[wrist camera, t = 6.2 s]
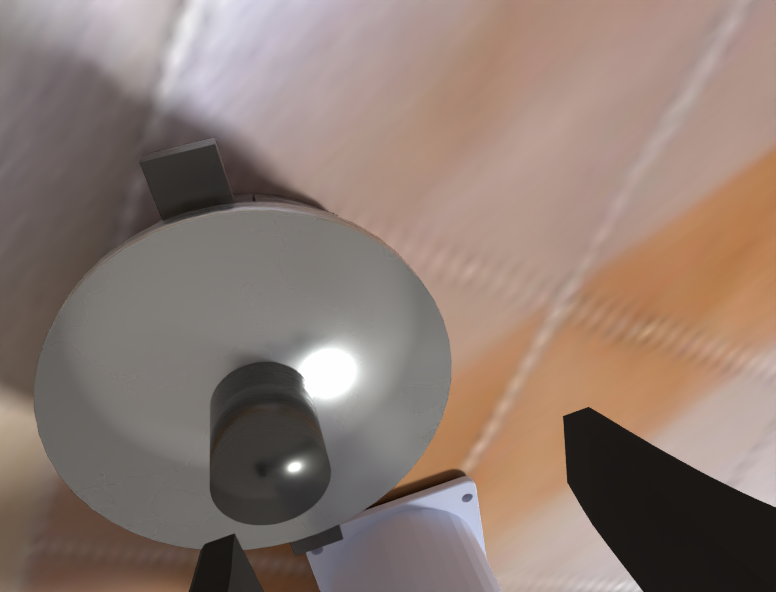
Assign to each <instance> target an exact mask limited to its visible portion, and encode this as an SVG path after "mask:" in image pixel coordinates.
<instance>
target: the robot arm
mask: <svg viewBox="0 0 776 592" xmlns="http://www.w3.org/2000/svg"><path fill="white" fill-rule="evenodd" d="M563 421H564V437H565V453H566V468H567V483H568V484H569V486H570V488H571V489H572V491H573V493H574V495H575V496H576V498H577V500H578V502H579V503H580V505H581V507H582V508H583V510H584V512H585V513H586V515H587V516H588V518H589V520H590V521H591V523H592V525H593V526H594V527H595V529H596V530H597V531H598V533H599V534H600V535H601V537H602V538H603V539H604V541H605V542H606V543H607V545H608V546H609V547H610V549H611V550H612V551H613V553H614V554H615V555H616V557H617V558H618V559H619V560H620V562H621V563H622V564H623V566H624V567H625V568H626V570H627V571H628V572H629V573H630V575H631V576H632V577H633V579H634V580H635V581H636V583H637V584H638V585H639V587H640V588H641V589H642V590H643V592H776V507H773V506H771V505H769V504H766V503H764V502H762V501H759V500H757V499H755V498H753V497H751V496H749V495H746V494H744V493H742V492H740V491H738V490H736V489H734V488H732V487H730V486H728V485H726V484H724V483H722V482H720V481H718V480H716V479H714V478H712V477H710V476H708V475H706V474H704V473H702V472H700V471H698V470H697V469H695V468H693V467H691V466H689V465H687V464H686V463H684V462H682V461H680V460H678V459H677V458H675V457H673V456H671V455H669V454H668V453H666V452H664V451H662V450H660V449H659V448H657V447H655V446H654V445H652V444H650V443H648V442H647V441H645V440H643V439H642V438H640V437H638V436H637V435H635V434H633V433H631V432H630V431H628V430H626V429H625V428H623V427H622V426H620V425H618V424H617V423H615V422H613V421H612V420H610V419H608V418H607V417H605V416H603V415H602V414H600V413H598V412H597V411H595V410H593V409H591V408H590V407H587V408H585V409H582V410H579V411H576V412H573V413H571V414H568V415H565V416H563ZM465 494H467V495H465ZM464 495H465V496H464ZM340 527H341V531H342V535H343V540H340V541H337V542H334V543H332V544H329V545H326V546H323V547H320V548H317V549H315V550H312V551H309V552H306V555H307V558H308V560H309V563H310V566H311V568H312V571H313V574H314V576H315V579H316V581H317V584H318V587H319V589H320V592H503V591H502V589H501V587H500V585H499V583H498V581H497V579H496V577H495V575H494V573H493V571H492V569H491V567H490V565H489V563H488V561H487V558H486V551H485V545H484V538H483V531H482V524H481V517H480V510H479V503H478V497H477V490H476V485H475V483H474V481H473V479H472V478H471V477H468V476H464V477H460V478H457V479H454V480H451V481H448V482H445V483H443V484H440V485H437V486H434V487H431V488H428V489H425V490H422V491H419V492H416V493H414V494H411V495H408V496H405V497H402V498H399V499H396V500H393V501H390V502H388V503H385V504H382V505H379V506H376V507H373V508H370V509H367V510H364V511H362V512H360V513H359V514H357V515H355V516H353V517H351V518H350V519H348V520H346V521H344V522H342V523H341V524H340ZM189 592H264V591H263V589H262V587H261V585H260V583H259V581H258V579H257V577H256V575H255V573H254V571H253V569H252V567H251V565H250V563H249V561H248V559H247V557H246V555H245V553H244V551H243V549H242V547H241V545H240V543H239V541H238V539H237V537H236V535H235V533H234V534H231V535H228V536H226V537H223V538H220V539H217V540H214V541H212V542H209V543H206V544H204V546H203V547H202V549H201V551H200V555H199V558H198V562H197V566H196V569H195V573H194V576H193V580H192V583H191V586H190V590H189Z"/></svg>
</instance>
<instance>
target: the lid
mask: <svg viewBox="0 0 776 592" xmlns="http://www.w3.org/2000/svg"><path fill="white" fill-rule="evenodd" d="M450 383H451V352H450V344H449V338H448V335H447V331H446V328H445V324H444V321H443V318H442V316H441V314H440V312H439V309H438V307H437V305H436V303H435V301H434V299H433V298H432V296H431V295H430V293H429V292H428V290H427V289H426V287H425V286H424V284H423V283H422V281H421V280H420V279H419V277H418V276H417V275H416V273H415V272H414V271H413V269H412V268H411V267H410V266H409V265H408V264H407V263H406V262H405V261H404V259H403V258H402V257H401V256H400V255H399V254H398V253H397V252H396V251H395V250H393V249H392V248H391V247H390V246H388V245H387V244H386V243H385V242H383V241H382V240H381V239H380V238H378V237H377V236H375V235H374V234H372V233H370V232H369V231H367V230H365V229H363V228H362V227H360V226H358V225H357V224H355V223H352V222H350V221H348V220H345V219H343V218H340V217H338V216H336V215H333V214H331V213H327V212H323V211H320V210H316V209H312V208H309V207H305V206H299V205H291V204H284V203H277V202H240V203H230V204H221V205H214V206H210V207H205V208H201V209H197V210H193V211H188V212H185V213H182V214H179V215H177V216H174V217H171V218H169V219H166V220H163V221H161V222H158V223H156V224H154V225H152V226H150V227H148V228H146V229H144V230H142V231H140V232H139V233H137V234H135V235H133V236H131V237H129V238H128V239H126V240H125V241H124V242H122V243H121V244H119V245H118V246H117V247H115V248H114V249H112V250H111V251H110V252H108V253H107V254H105V255H104V256H103V257H102V258H101V259H100V260H99V261H98V262H97V263H96V264H95V265H94V266H93V267H92V268H91V269H90V270H89V271H88V272H86V273H85V274H84V276H83V277H82V278H81V279H80V281H79V282H78V283H77V285H76V286H75V287H74V288H73V290H72V291H71V292H70V294H69V295H68V296H67V298H66V300H65V301H64V303H63V305H62V307H61V309H60V311H59V312H58V314H57V316H56V318H55V320H54V322H53V324H52V326H51V328H50V330H49V332H48V334H47V336H46V339H45V342H44V345H43V348H42V350H41V353H40V356H39V359H38V363H37V369H36V375H35V381H34V412H35V417H36V422H37V427H38V432H39V435H40V438H41V441H42V443H43V446H44V448H45V451H46V453H47V456H48V457H49V459H50V461H51V462H52V464H53V466H54V467H55V469H56V471H57V472H58V474H59V476H60V477H61V478H62V479H63V480H64V482H65V483H66V484H67V485H68V486H69V488H70V489H71V490H72V491H73V492H74V494H76V495H77V496H78V497H79V498H80V499H81V500H82V501H84V502H85V503H86V504H87V505H88V506H89V507H90V508H91V509H93V510H94V511H96V512H97V513H99V514H100V515H102V516H103V517H105V518H106V519H108V520H109V521H111V522H112V523H114V524H116V525H118V526H120V527H122V528H124V529H126V530H128V531H130V532H132V533H135V534H138V535H141V536H143V537H146V538H149V539H152V540H154V541H158V542H162V543H166V544H170V545H174V546H179V547H186V548H193V549H200V550H201V549H202V547H203V546H204V544H206V543H209V542H212V541H214V540H217V539H220V538H223V537H226V536H228V535H231V534H234V533H235V535H236V537H237V539H238V541H239V543H240V545H241V547H242V549H243V550H250V549H257V548H264V547H271V546H276V545H280V544H284V543H289V542H293V541H297V540H300V539H303V538H306V537H309V536H312V535H315V534H318V533H320V532H323V531H325V530H327V529H329V528H332V527H334V526H336V525H339V524H341V523H342V522H344V521H346V520H348V519H350V518H351V517H353V516H355V515H357V514H359V513H360V512H362V511H363V510H365V509H366V508H368V507H369V506H371V505H372V504H374V503H375V502H377V501H378V500H379V499H380V498H381V497H383V496H384V495H385V494H386V493H387V492H389V491H390V490H391V489H392V488H394V487H395V486H396V485H397V484H398V483H399V482H400V480H401V479H402V478H403V477H404V476H405V475H406V474H407V473H408V472H409V471H410V470H411V469H412V467H413V466H414V465H415V464H416V462H417V461H418V460H419V459H420V457H421V456H422V455H423V453H424V451H425V450H426V448H427V447H428V445H429V443H430V442H431V440H432V438H433V437H434V434H435V432H436V430H437V428H438V426H439V424H440V421H441V419H442V416H443V413H444V410H445V407H446V404H447V400H448V395H449V389H450Z"/></svg>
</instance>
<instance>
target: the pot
mask: <svg viewBox="0 0 776 592" xmlns="http://www.w3.org/2000/svg"><path fill="white" fill-rule="evenodd" d="M140 165H141V167H142V170H143V172H144V175H145V177H146V180H147V182H148V185H149V187H150V190H151V193H152V195H153V198H154V200H155V203H156V205H157V208H158V210H159V213H160V215H161V219H160V220H159V221H158V222H161V221H163V220H166V219H169V218H171V217H174V216H177V215H179V214H182V213H185V212H188V211H193V210H197V209H201V208H205V207H210V206H214V205H221V204H230V203H240V202H277V203H284V204H291V205H299V206H305V207H309V208H312V209H316V210H320V211H323V212H327V211H324V210H322V209H320V208H318V207H316V206H314V205H311V204H308V203H305V202H302V201H299V200H296V199H293V198H287V197H282V196H277V195H269V194H256V193H254V194H253V193H249V194H235V195H233V192H232V188H231V185H230V182H229V179H228V176H227V173H226V170H225V167H224V164H223V161H222V157H221V154H220V151H219V148H218V145H217V142H216V139H215V137H214V138H210V139H206V140H201V141H197V142H193V143H189V144H185V145H180V146H176V147H172V148H168V149H164V150H160V151H155V152H151V153H147V154H143V156H142V158H141V160H140ZM327 213H331V212H327ZM331 214H333V215H335V214H334V213H331ZM336 216H337V215H336ZM158 222H157V223H158ZM340 540H343V535H342V531H341V527H340V524H339V525H336V526H334V527H332V528H329V529H327V530H325V531H323V532H320V533H318V534H315V535H312V536H309V537H306V538H303V539H300V540H297V541H293V542H290V544H291V547H292V549H293V552H294V554H295V556H297V555H300V554H303V553H306V552H309V551H312V550H315V549H317V548H320V547H323V546H326V545H329V544H332V543H334V542H337V541H340Z"/></svg>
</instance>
